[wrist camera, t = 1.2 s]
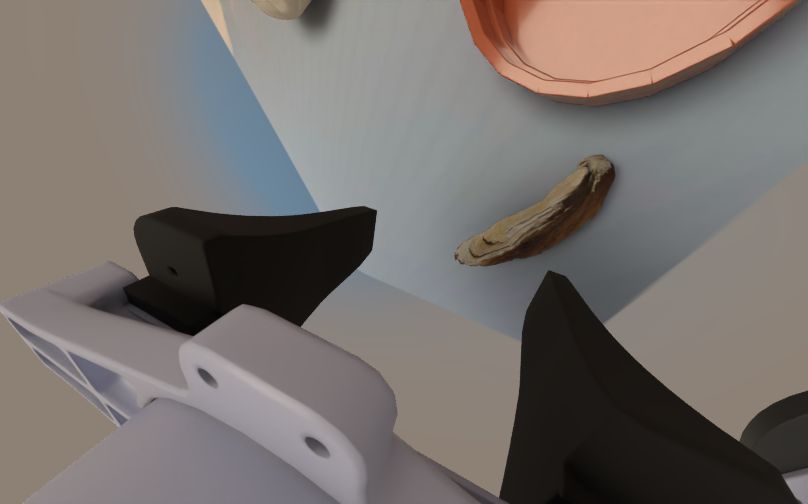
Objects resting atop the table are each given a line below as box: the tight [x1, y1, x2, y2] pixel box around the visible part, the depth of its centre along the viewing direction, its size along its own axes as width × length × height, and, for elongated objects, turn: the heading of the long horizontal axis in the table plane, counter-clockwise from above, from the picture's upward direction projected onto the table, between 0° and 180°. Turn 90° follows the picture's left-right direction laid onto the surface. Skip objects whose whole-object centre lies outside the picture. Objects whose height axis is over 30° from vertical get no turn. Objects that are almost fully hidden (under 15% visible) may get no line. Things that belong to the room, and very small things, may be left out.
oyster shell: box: [455, 155, 615, 266], centre depth 19 cm, size 6×4×10 cm
